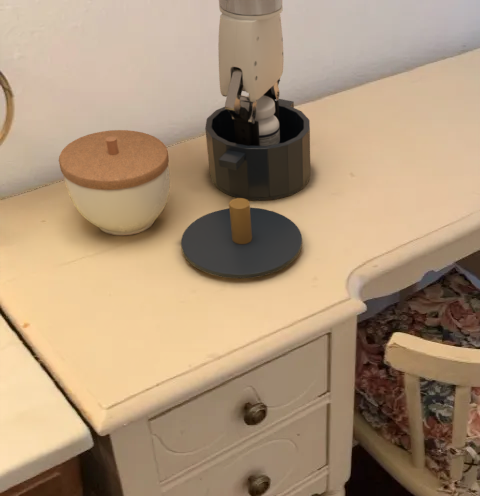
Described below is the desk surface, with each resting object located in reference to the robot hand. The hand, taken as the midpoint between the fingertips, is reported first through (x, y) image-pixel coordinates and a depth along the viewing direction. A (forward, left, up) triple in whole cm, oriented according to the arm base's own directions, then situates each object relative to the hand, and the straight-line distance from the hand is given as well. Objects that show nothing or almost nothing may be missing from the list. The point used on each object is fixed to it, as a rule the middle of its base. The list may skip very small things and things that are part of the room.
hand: (258, 136), depth 111 cm
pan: (0, 0, -6) cm, 6 cm away
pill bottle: (0, 0, -5) cm, 5 cm away
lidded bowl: (-11, -17, -6) cm, 21 cm away
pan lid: (+5, -17, -5) cm, 18 cm away
